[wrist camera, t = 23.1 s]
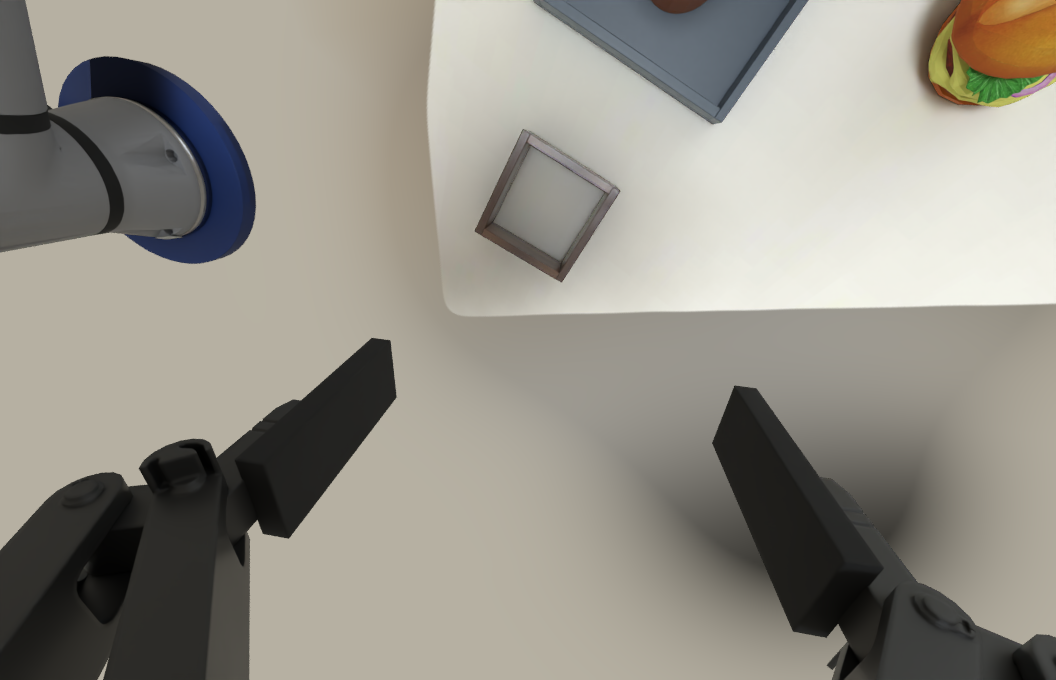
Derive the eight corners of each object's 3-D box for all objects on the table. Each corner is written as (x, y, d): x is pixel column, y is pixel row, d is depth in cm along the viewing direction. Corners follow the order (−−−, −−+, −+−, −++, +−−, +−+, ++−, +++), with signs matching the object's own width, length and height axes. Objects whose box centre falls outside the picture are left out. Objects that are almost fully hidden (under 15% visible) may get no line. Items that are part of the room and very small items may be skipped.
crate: (483, 224, 43) (474, 231, 39) (528, 130, 38) (523, 128, 34) (563, 272, 44) (561, 282, 40) (617, 187, 39) (620, 190, 36)
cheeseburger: (963, 144, 34) (1070, 119, 25) (870, 67, 34) (941, 16, 25) (1109, 25, 29) (1304, -58, 20) (999, -62, 30) (1141, -180, 21)
